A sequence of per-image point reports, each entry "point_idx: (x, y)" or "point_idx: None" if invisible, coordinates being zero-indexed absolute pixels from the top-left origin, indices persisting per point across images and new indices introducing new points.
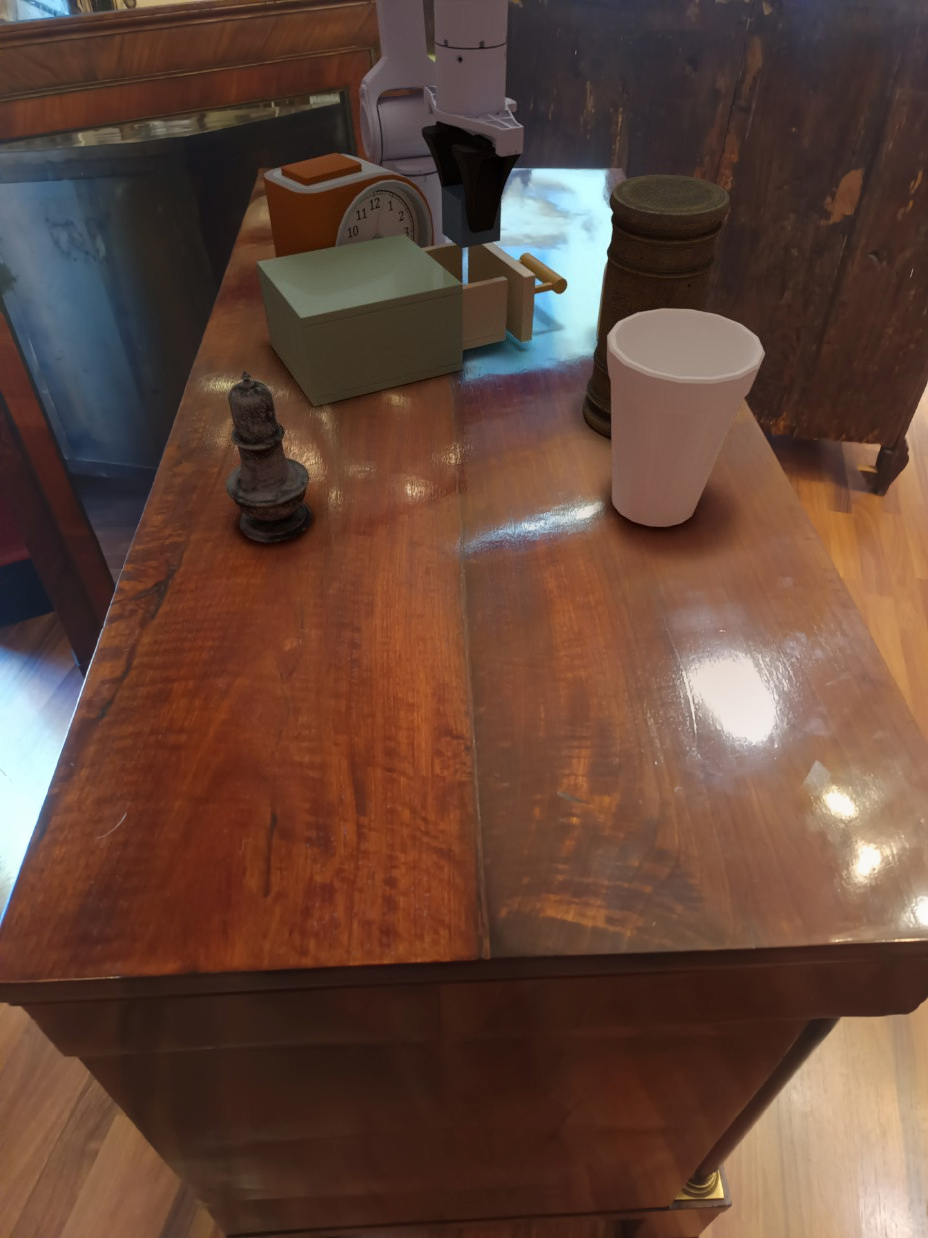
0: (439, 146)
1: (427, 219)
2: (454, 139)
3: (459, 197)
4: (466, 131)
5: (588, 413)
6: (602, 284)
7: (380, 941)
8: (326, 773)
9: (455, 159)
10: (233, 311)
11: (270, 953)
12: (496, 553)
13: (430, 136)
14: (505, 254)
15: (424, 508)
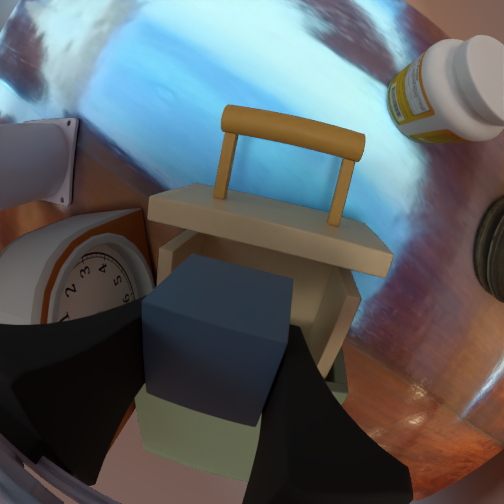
0: (100, 458)
1: (83, 254)
2: (82, 445)
3: (230, 416)
4: (59, 436)
5: (491, 294)
6: (431, 121)
7: (485, 461)
8: (458, 466)
9: (108, 403)
10: None
11: (466, 474)
12: (477, 407)
13: (92, 484)
14: (279, 232)
15: (430, 421)
